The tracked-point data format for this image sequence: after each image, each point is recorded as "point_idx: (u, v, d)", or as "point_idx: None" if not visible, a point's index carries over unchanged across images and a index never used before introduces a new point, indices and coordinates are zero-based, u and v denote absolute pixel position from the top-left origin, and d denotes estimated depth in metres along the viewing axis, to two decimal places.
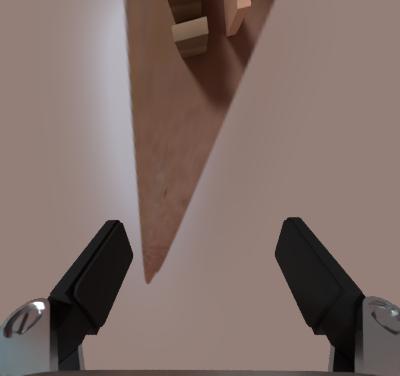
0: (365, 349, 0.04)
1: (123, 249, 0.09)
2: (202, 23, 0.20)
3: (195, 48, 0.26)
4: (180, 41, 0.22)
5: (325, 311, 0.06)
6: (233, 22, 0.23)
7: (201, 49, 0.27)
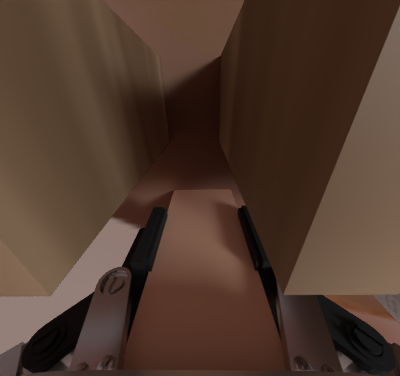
0: (284, 319, 0.05)
1: None
2: None
3: None
4: None
5: None
6: None
7: None
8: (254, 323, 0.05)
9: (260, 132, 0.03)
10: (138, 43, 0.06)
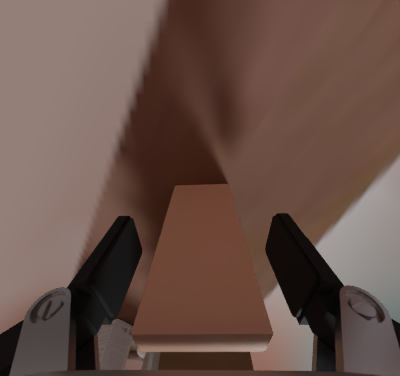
0: (344, 338, 0.04)
1: (133, 244, 0.09)
2: None
3: None
4: (236, 365, 0.08)
5: (307, 301, 0.06)
6: None
7: None
8: (244, 296, 0.06)
9: None
10: None
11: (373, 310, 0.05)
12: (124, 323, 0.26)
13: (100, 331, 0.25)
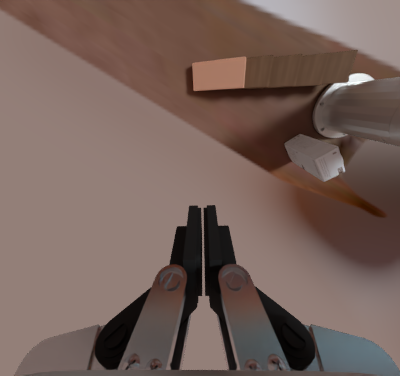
0: (231, 325, 0.05)
1: (201, 232, 0.10)
2: None
3: None
4: (269, 60, 0.28)
5: (207, 279, 0.07)
6: None
7: None
8: (238, 62, 0.28)
9: (286, 74, 0.29)
10: None
11: (241, 277, 0.06)
12: (290, 139, 0.39)
13: (290, 155, 0.40)
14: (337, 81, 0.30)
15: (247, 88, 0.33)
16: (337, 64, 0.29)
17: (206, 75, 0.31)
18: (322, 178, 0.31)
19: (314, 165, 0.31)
